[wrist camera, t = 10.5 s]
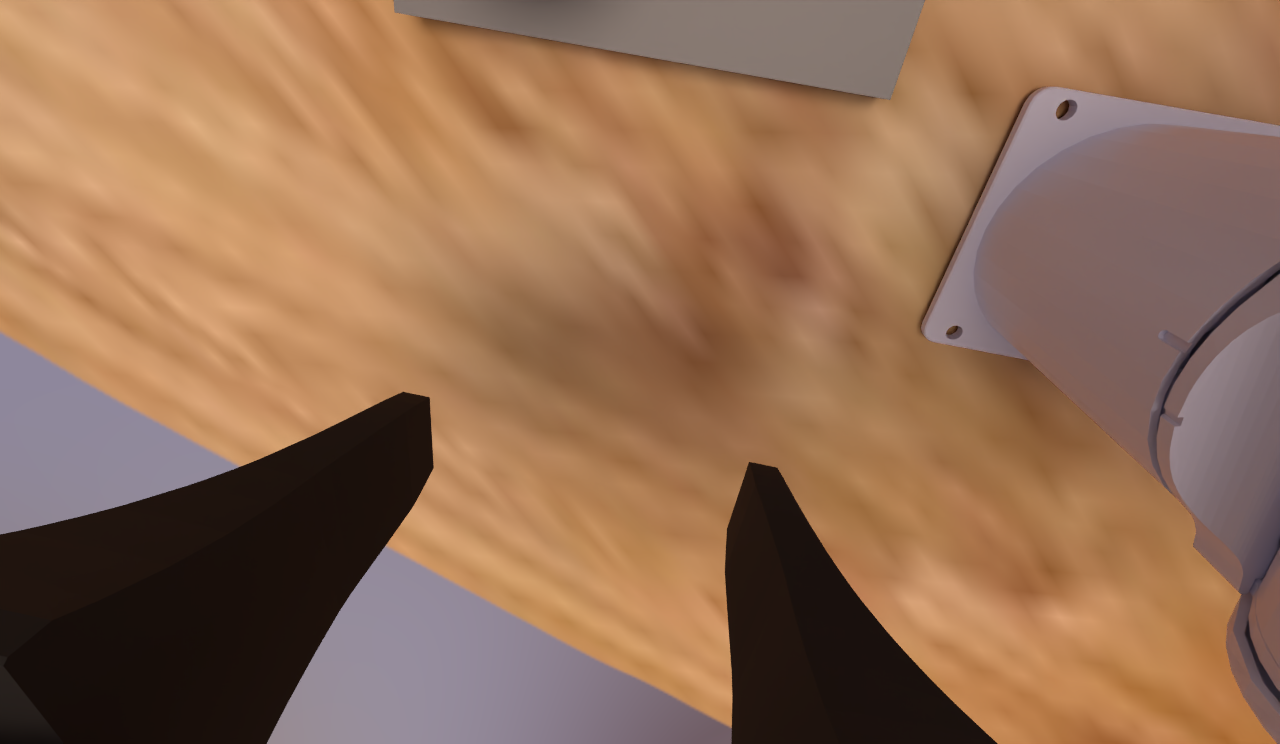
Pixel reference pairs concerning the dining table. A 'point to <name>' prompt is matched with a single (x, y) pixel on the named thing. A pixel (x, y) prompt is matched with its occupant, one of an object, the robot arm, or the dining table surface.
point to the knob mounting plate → (718, 33)
